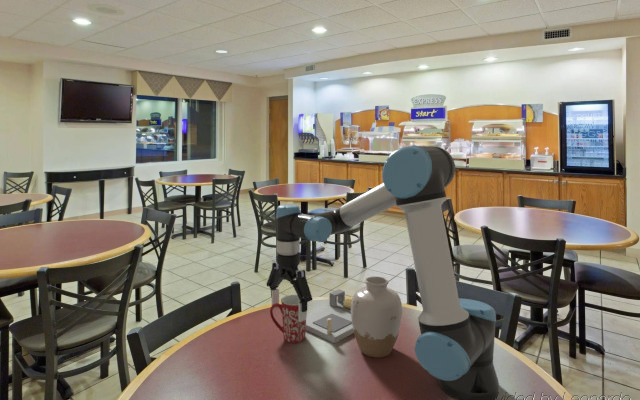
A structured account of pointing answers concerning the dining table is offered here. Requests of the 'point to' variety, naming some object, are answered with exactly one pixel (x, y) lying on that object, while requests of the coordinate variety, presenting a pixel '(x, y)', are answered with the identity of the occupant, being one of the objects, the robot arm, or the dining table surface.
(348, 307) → the tan rectangular block
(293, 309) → the mug
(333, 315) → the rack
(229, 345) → the dining table surface
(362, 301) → the white ceramic vase
